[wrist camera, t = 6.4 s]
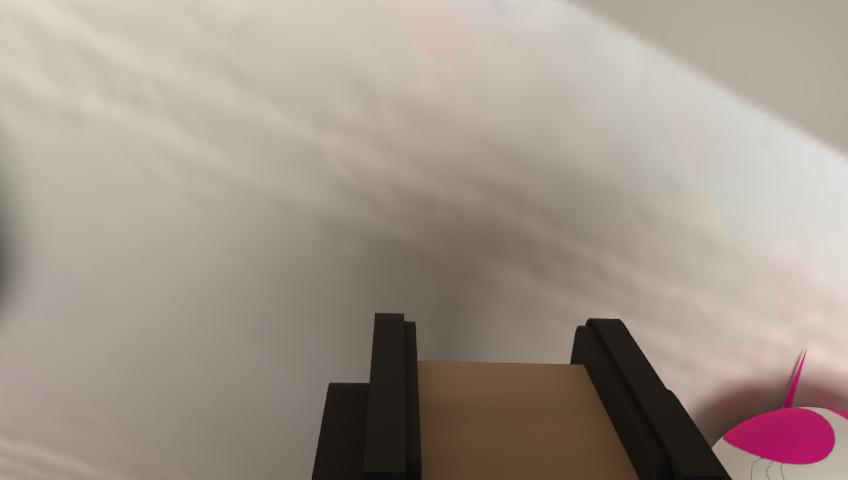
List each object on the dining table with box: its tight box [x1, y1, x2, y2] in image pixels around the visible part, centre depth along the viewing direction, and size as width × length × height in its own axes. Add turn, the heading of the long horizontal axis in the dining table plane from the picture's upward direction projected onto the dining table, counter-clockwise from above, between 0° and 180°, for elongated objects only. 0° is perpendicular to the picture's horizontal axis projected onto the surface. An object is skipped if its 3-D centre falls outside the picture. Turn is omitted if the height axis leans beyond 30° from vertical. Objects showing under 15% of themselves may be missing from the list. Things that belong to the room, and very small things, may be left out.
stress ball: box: [712, 349, 848, 480], centre depth 20 cm, size 8×8×7 cm
